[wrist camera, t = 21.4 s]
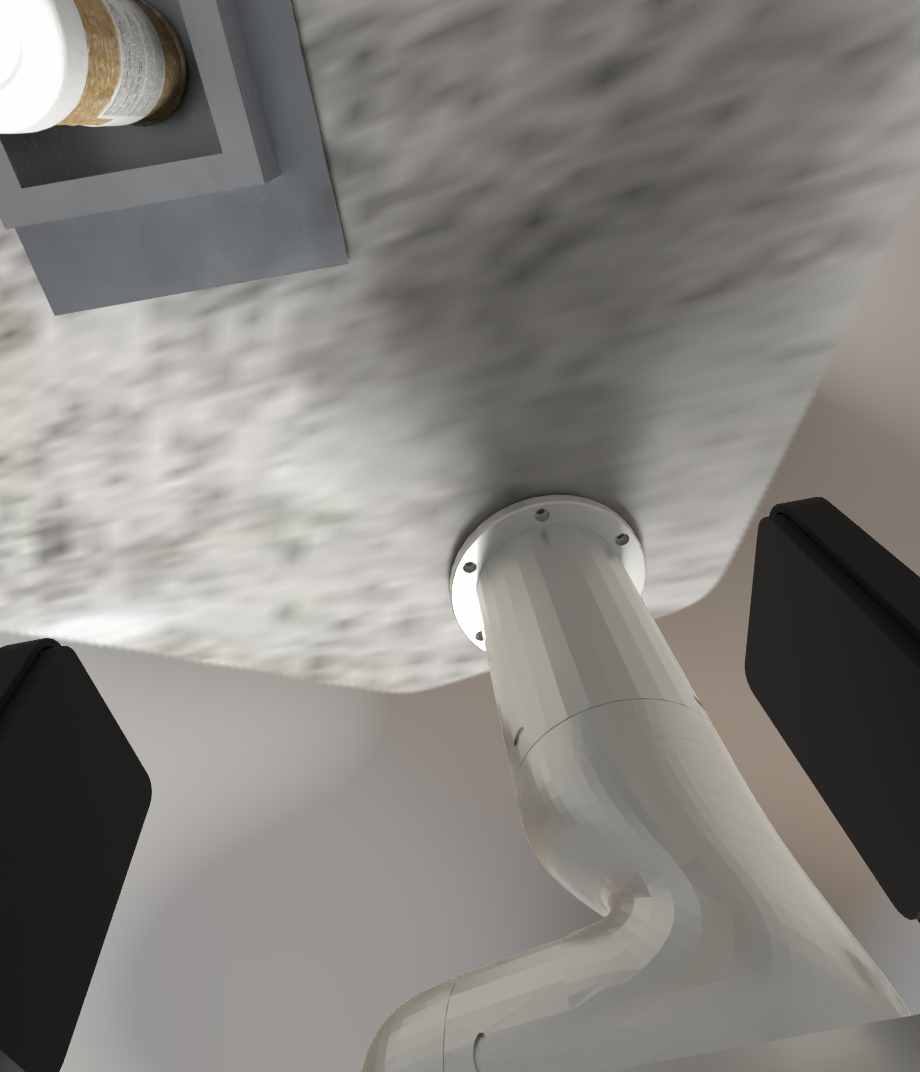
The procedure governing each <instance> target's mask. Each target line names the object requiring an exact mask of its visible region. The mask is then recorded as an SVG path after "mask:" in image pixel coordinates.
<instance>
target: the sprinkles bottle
mask: <svg viewBox="0 0 920 1072" xmlns="http://www.w3.org/2000/svg"><path fill="white" fill-rule="evenodd" d="M186 79H187V68H186V60H185V54H184V52H183V50H182V47H181V44H180V41H179V39H178V37H177V35H176V33H175V31H174V30H173V28H172V26H171V25H170V24H169V22H168V21H167V20H166V18H165V17H164V16H163V15H162V14H161V13H160V12H159V11H158V10H157V9H156V8H155V7H154V6H153V5H151V4H150V3H148V2H146V1H145V0H0V134H17V133H31V132H38V131H41V130H44V129H47V128H50V127H52V126H54V125H71V126H75V125H83V126H91V127H99V126H121V125H127V124H129V125H134V126H148V125H152V124H156V123H159V122H160V121H162V120H164V119H166V118H167V117H168V116H170V115H171V114H172V113H173V112H174V110H175V109H176V108H177V107H178V106H179V105H180V103H181V101H182V97H183V93H184V91H185V87H186Z"/></svg>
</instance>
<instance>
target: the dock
mask: <svg viewBox="0 0 920 1072" xmlns="http://www.w3.org/2000/svg"><path fill="white" fill-rule="evenodd" d="M145 1H146V2H148V3H150V4H151V5H153V6H154V7H155V8H156V9H157V10H158V11H159V12H160V13H161V14H162V15H163V16H164V17H165V18H166V20H167V21H168V22H169V24H170V25H171V26H172V28H173V30H174V31H175V33H176V35H177V37H178V39H179V41H180V44H181V47H182V50H183V52H184V54H185V60H186V68H187V79H186V87H185V91H184V93H183V97H182V101H181V103H180V105H179V106H178V107H177V108H176V109H175V110H174V112H173V113H172V114H171V115H170V116H168V117H167V118H166V119H164V120H162V121H160V122H159V123H156V124H152V125H148V126H134V125H129V124H127V125H121V126H99V127H91V126H83V125H75V126H71V125H54V126H52V127H50V128H47V129H44V130H41V131H38V132H31V133H17V134H0V218H1V220H2V223H3V225H4V227H5V229H10V228H15V229H16V232H17V234H18V236H19V238H20V240H21V243H22V245H23V247H24V249H25V251H26V253H27V256H28V258H29V260H30V262H31V264H32V267H33V269H34V271H35V273H36V275H37V278H38V280H39V282H40V284H41V286H42V289H43V291H44V293H45V295H46V297H47V299H48V302H49V304H50V306H51V308H52V310H53V313H54V315H55V316H56V315H61V314H67V313H73V312H78V311H84V310H89V309H95V308H101V307H106V306H112V305H118V304H123V303H129V302H134V301H140V300H146V299H151V298H157V297H163V296H168V295H174V294H179V293H185V292H191V291H196V290H202V289H208V288H213V287H219V286H224V285H230V284H236V283H241V282H247V281H252V280H258V279H264V278H269V277H275V276H281V275H286V274H292V273H297V272H303V271H309V270H314V269H320V268H326V267H331V266H337V265H342V264H348V261H349V259H348V255H347V250H346V246H345V241H344V236H343V232H342V227H341V223H340V218H339V214H338V209H337V205H336V200H335V196H334V191H333V187H332V182H331V178H330V173H329V169H328V164H327V160H326V155H325V151H324V146H323V142H322V137H321V133H320V128H319V124H318V119H317V115H316V110H315V106H314V101H313V97H312V92H311V88H310V83H309V79H308V74H307V70H306V65H305V61H304V56H303V52H302V47H301V43H300V38H299V34H298V29H297V25H296V20H295V16H294V11H293V7H292V2H291V0H145Z"/></svg>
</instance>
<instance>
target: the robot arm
mask: <svg viewBox="0 0 920 1072" xmlns="http://www.w3.org/2000/svg"><path fill="white" fill-rule="evenodd" d="M540 509H542V510H541V511H538V510H540ZM645 579H646V563H645V555H644V552H643V550H642V547H641V545H640V542H639V540H638V538H637V537H636V535H635V534H634V532H633V530H632V529H631V527H630V526H629V525H628V524H627V523H626V522H625V521H624V519H623V518H622V517H621V516H620V515H618V514H617V513H616V512H614V511H613V510H611V509H610V508H609V507H607V506H605V505H603V504H601V503H598V502H596V501H594V500H591V499H587V498H583V497H578V496H573V495H547V496H540V497H533V498H530V499H526V500H523V501H520V502H517V503H514V504H512V505H510V506H508V507H506V508H504V509H502V510H500V511H498V512H496V513H495V514H493V515H492V516H491V517H489V518H488V519H487V520H485V521H484V522H482V523H481V524H480V525H479V526H478V527H477V528H476V529H475V530H474V531H473V532H472V533H471V534H470V536H469V537H468V538H467V539H466V541H465V542H464V544H463V545H462V547H461V548H460V550H459V552H458V554H457V556H456V559H455V561H454V564H453V566H452V570H451V577H450V583H449V585H450V598H451V603H452V608H453V613H454V616H455V618H456V620H457V622H458V624H459V626H460V628H461V629H462V631H463V632H464V633H465V634H466V636H467V637H468V638H469V639H470V640H471V641H472V642H473V643H475V644H476V645H477V646H478V647H479V648H481V649H482V650H484V651H486V654H487V659H488V664H489V669H490V673H491V678H492V683H493V687H494V693H495V698H496V702H497V707H498V712H499V717H500V722H501V727H502V731H503V736H504V741H505V746H506V750H507V756H508V760H509V765H510V770H511V775H512V780H513V785H514V789H515V794H516V798H517V803H518V807H519V812H520V817H521V821H522V824H523V828H524V831H525V834H526V836H527V838H528V840H529V842H530V844H531V847H532V849H533V850H534V852H535V854H536V855H537V857H538V858H539V859H540V861H541V862H542V864H543V865H544V867H545V868H546V869H547V870H548V871H549V873H550V874H551V875H553V877H554V878H555V879H556V880H557V881H558V882H559V883H560V884H561V885H562V886H564V887H565V888H566V889H567V890H568V891H570V892H571V893H572V894H573V895H574V896H576V897H577V898H578V899H579V900H581V901H582V902H583V903H585V904H586V905H588V906H589V907H590V908H592V909H593V910H595V911H596V912H597V913H599V914H600V915H602V916H603V917H605V918H603V919H602V920H600V921H599V922H597V923H595V924H593V925H590V926H587V927H585V928H583V929H580V930H578V931H575V932H573V933H570V934H569V935H568V936H567V937H564V938H562V939H559V940H556V941H553V942H550V943H548V944H545V945H542V946H539V947H537V948H534V949H531V950H529V951H525V952H523V953H520V954H517V955H514V956H511V957H509V958H506V959H503V960H500V961H498V962H495V963H492V964H489V965H486V966H484V967H481V968H478V969H475V970H472V971H470V972H467V973H464V974H463V975H460V976H458V977H455V978H452V979H450V980H447V981H445V982H443V983H440V984H438V985H436V986H433V987H431V988H429V989H427V990H425V991H423V992H420V993H419V994H417V995H415V996H413V997H412V998H410V999H409V1000H408V1001H406V1002H405V1003H404V1004H402V1005H401V1006H400V1007H398V1008H397V1009H396V1010H395V1011H394V1012H393V1013H392V1014H391V1015H390V1016H389V1017H388V1018H387V1020H386V1021H385V1022H384V1023H383V1024H382V1026H381V1027H380V1029H379V1030H378V1032H377V1033H376V1035H375V1037H374V1038H373V1040H372V1042H371V1044H370V1046H369V1048H368V1051H367V1054H366V1057H365V1060H364V1063H363V1066H362V1069H361V1072H920V1014H919V1015H913V1016H912V1015H911V1014H910V1012H909V1010H908V1009H907V1008H906V1006H905V1005H904V1004H903V1002H902V1000H901V999H900V998H899V996H898V995H897V993H896V992H895V990H894V989H893V987H892V986H891V985H890V983H889V982H888V980H887V979H886V977H885V976H884V975H883V973H882V972H881V971H880V969H879V968H878V967H877V966H876V965H875V963H874V962H873V960H872V959H871V958H870V957H869V955H868V954H867V953H866V951H864V949H863V948H862V946H861V945H860V944H859V942H858V941H857V940H856V939H855V937H854V936H853V935H852V933H851V932H850V931H849V930H848V928H847V927H846V926H845V924H844V923H843V922H842V921H841V919H840V918H839V917H838V915H837V914H836V913H835V911H834V910H833V909H832V908H831V906H830V905H829V904H828V903H827V901H826V900H825V899H824V897H823V896H822V895H821V893H820V892H819V891H818V889H817V888H816V887H815V885H814V884H813V883H812V881H811V880H810V879H809V878H808V876H807V875H806V874H805V873H804V871H803V870H802V868H801V867H800V865H799V864H798V863H797V861H796V860H795V858H794V857H793V856H792V854H791V853H790V851H789V850H788V849H787V847H786V846H785V844H784V843H783V841H782V840H781V839H780V837H779V836H778V834H777V832H776V831H775V829H774V828H773V826H772V825H771V823H770V822H769V820H768V818H767V817H766V815H765V814H764V812H763V811H762V809H761V807H760V806H759V804H758V803H757V801H756V800H755V798H754V796H753V794H752V793H751V791H750V789H749V788H748V786H747V784H746V783H745V781H744V779H743V777H742V776H741V774H740V772H739V771H738V769H737V767H736V765H735V764H734V762H733V760H732V758H731V757H730V755H729V753H728V751H727V749H726V748H725V746H724V744H723V742H722V741H721V739H720V737H719V735H718V733H717V732H716V730H715V729H714V727H713V725H712V723H711V721H710V719H709V717H708V716H707V714H706V712H705V710H704V708H703V707H702V705H701V703H700V701H699V699H698V698H697V696H696V694H695V692H694V691H693V689H692V687H691V685H690V684H689V682H688V680H687V678H686V677H685V675H684V673H683V671H682V669H681V668H680V666H679V664H678V662H677V661H676V659H675V657H674V655H673V653H672V652H671V650H670V648H669V646H668V644H667V643H666V641H665V639H664V637H663V635H662V634H661V632H660V630H659V628H658V627H657V625H656V623H655V621H654V619H653V618H652V616H651V614H650V612H649V610H648V609H647V607H646V605H645V603H644V601H643V600H642V598H641V596H642V593H643V590H644V587H645ZM751 596H752V597H751V606H750V616H749V627H748V636H747V646H746V656H745V674H746V678H747V681H748V684H749V686H750V688H751V690H752V692H753V694H754V695H755V696H756V698H757V700H758V701H759V702H760V704H761V706H762V707H763V709H764V710H765V712H766V713H767V715H768V716H769V717H770V719H771V721H772V722H773V724H774V725H775V727H776V728H777V730H778V731H779V733H780V734H781V736H782V738H783V739H784V741H785V742H786V744H787V745H788V747H789V748H790V750H791V751H792V753H793V754H794V756H795V757H796V759H797V760H798V762H799V763H800V765H801V766H802V768H803V769H804V771H805V772H806V774H807V775H808V776H809V778H810V780H811V781H812V783H813V784H814V786H815V787H816V789H817V790H818V792H819V793H820V795H821V796H822V798H823V799H824V801H825V802H826V804H827V805H828V807H829V809H830V810H831V811H832V813H833V814H834V816H835V818H836V819H837V821H838V822H839V824H840V825H841V827H842V828H843V830H844V831H845V833H846V834H847V836H848V837H849V839H850V840H851V842H852V843H853V845H854V846H855V848H856V849H857V851H858V852H859V854H860V855H861V857H862V858H863V860H864V861H865V863H866V864H867V866H868V867H869V869H870V870H871V872H872V873H873V875H874V876H875V878H876V879H877V881H878V882H879V884H880V886H881V887H882V889H883V890H884V892H885V893H886V895H887V896H888V897H889V899H890V901H891V902H892V903H893V905H894V906H895V908H896V909H897V910H898V911H899V912H900V913H901V914H902V915H903V916H904V917H906V918H908V919H909V920H913V919H917V920H918V921H919V923H920V577H919V576H918V575H916V574H915V573H914V572H913V571H911V570H910V569H909V568H908V567H907V566H906V565H904V564H903V563H902V562H901V561H899V560H898V559H897V558H896V557H894V556H893V555H892V554H891V553H890V552H889V551H887V550H886V549H885V548H884V547H883V546H881V545H880V544H879V543H878V542H877V541H875V540H874V539H873V538H872V537H871V536H869V535H868V534H867V533H866V532H865V531H863V530H862V529H861V528H860V527H859V526H857V525H856V524H855V523H854V522H853V521H851V520H850V519H849V518H848V517H847V516H845V515H844V514H843V513H842V512H840V511H839V510H838V509H837V508H836V507H835V506H833V505H832V504H831V503H830V502H829V501H827V500H826V499H824V498H822V497H814V498H809V499H803V500H798V501H793V502H787V503H782V504H777V505H775V506H774V507H773V508H772V510H771V512H770V516H769V517H765V518H763V519H762V520H761V521H760V523H759V527H758V534H757V544H756V555H755V565H754V576H753V586H752V595H751ZM151 795H152V789H151V782H150V779H149V776H148V774H147V772H146V771H145V769H144V767H143V766H142V764H141V762H140V761H139V759H138V757H137V756H136V754H135V752H134V751H133V749H132V747H131V745H130V744H129V742H128V741H127V739H126V737H125V735H124V734H123V732H122V730H121V729H120V727H119V725H118V724H117V722H116V720H115V718H114V717H113V715H112V714H111V712H110V710H109V708H108V707H107V705H106V703H105V702H104V700H103V698H102V697H101V695H100V693H99V692H98V690H97V688H96V687H95V685H94V683H93V681H92V680H91V678H90V676H89V675H88V673H87V672H86V670H85V668H84V666H83V665H82V663H81V661H80V660H79V658H78V656H77V655H76V653H75V652H74V651H73V649H71V648H70V647H68V646H61V645H60V644H59V643H58V642H57V641H55V640H54V639H50V638H44V639H39V640H33V641H28V642H22V643H17V644H12V645H6V646H4V647H1V648H0V1072H59V1071H60V1069H61V1067H62V1064H63V1062H64V1059H65V1056H66V1053H67V1050H68V1047H69V1044H70V1041H71V1038H72V1035H73V1032H74V1029H75V1026H76V1023H77V1020H78V1017H79V1014H80V1011H81V1008H82V1005H83V1003H84V999H85V996H86V993H87V991H88V987H89V985H90V982H91V978H92V976H93V973H94V970H95V966H96V964H97V960H98V958H99V955H100V952H101V949H102V946H103V943H104V939H105V937H106V934H107V931H108V928H109V925H110V922H111V919H112V916H113V913H114V910H115V907H116V904H117V901H118V898H119V895H120V892H121V889H122V886H123V883H124V880H125V877H126V874H127V871H128V868H129V865H130V862H131V859H132V856H133V853H134V850H135V847H136V844H137V842H138V839H139V835H140V832H141V829H142V827H143V823H144V820H145V817H146V815H147V812H148V809H149V806H150V801H151Z"/></svg>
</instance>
